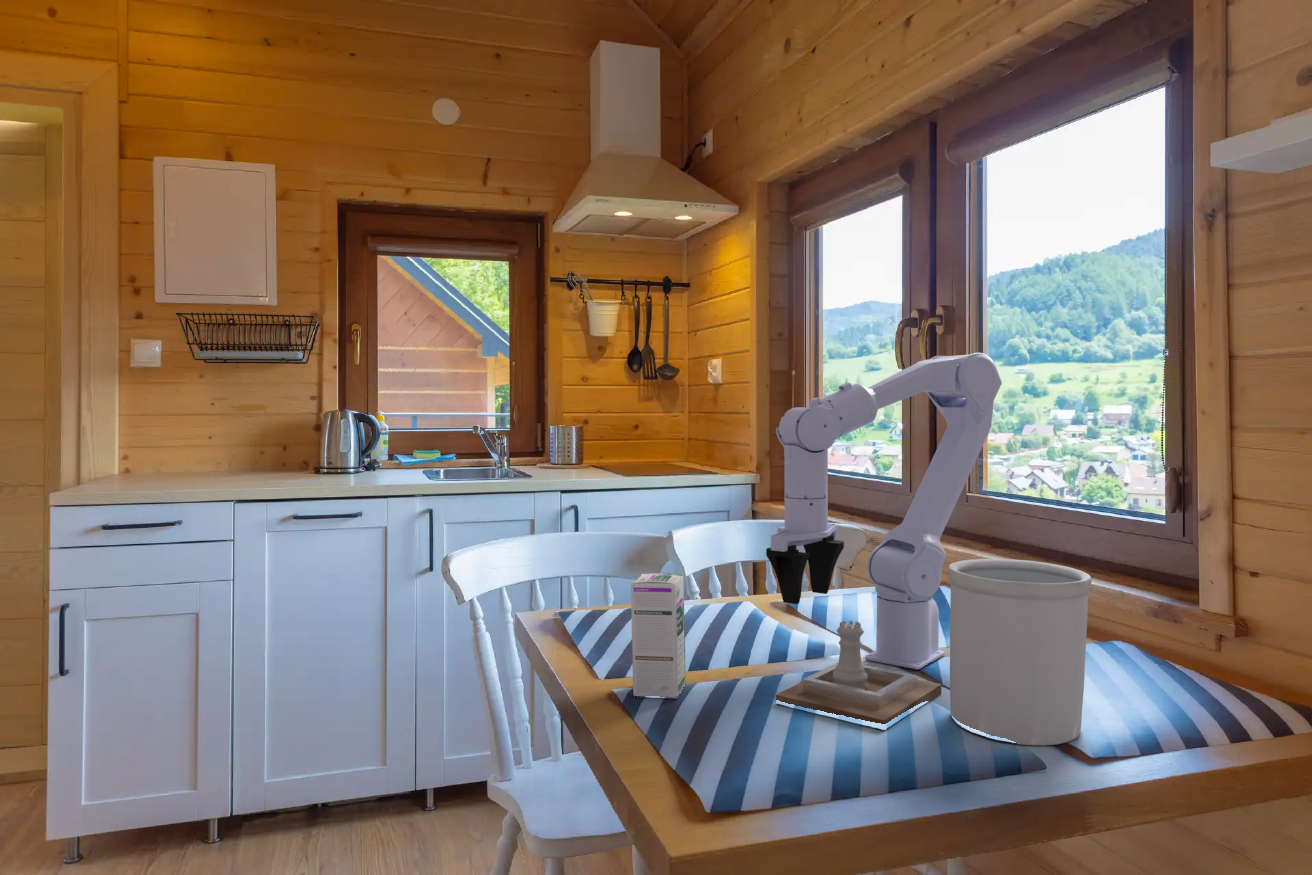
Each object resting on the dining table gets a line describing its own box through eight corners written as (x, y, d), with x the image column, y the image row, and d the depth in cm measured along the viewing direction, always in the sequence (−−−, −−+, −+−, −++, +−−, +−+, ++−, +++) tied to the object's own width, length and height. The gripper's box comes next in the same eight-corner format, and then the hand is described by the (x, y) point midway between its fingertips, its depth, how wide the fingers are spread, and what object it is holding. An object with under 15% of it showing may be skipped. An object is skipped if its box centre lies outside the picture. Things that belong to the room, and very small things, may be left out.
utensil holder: (1033, 697, 111) (1034, 555, 110) (1119, 742, 96) (1122, 578, 95) (922, 706, 108) (923, 560, 107) (995, 754, 93) (997, 586, 92)
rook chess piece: (872, 685, 112) (873, 621, 111) (863, 695, 108) (863, 629, 107) (837, 680, 114) (837, 617, 113) (826, 690, 110) (826, 625, 110)
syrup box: (678, 700, 110) (677, 582, 110) (631, 697, 111) (630, 580, 111) (686, 685, 116) (685, 573, 115) (641, 683, 117) (640, 571, 116)
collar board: (839, 672, 121) (839, 652, 121) (941, 693, 112) (941, 672, 112) (775, 704, 109) (775, 682, 108) (884, 730, 100) (884, 706, 100)
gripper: (807, 490, 129) (807, 584, 130) (750, 499, 118) (750, 603, 118) (852, 493, 124) (851, 591, 125) (797, 503, 113) (797, 610, 114)
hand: (805, 597), depth 121 cm, fingers open, 7 cm apart
